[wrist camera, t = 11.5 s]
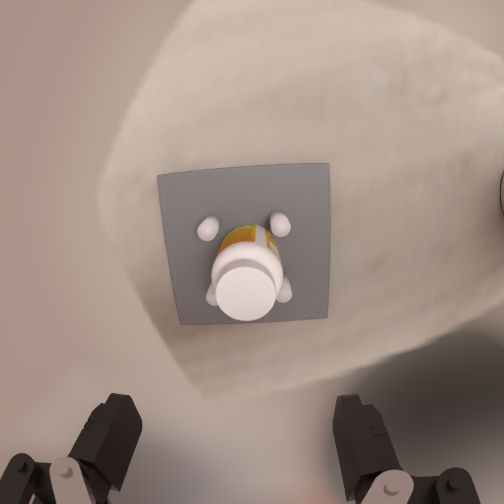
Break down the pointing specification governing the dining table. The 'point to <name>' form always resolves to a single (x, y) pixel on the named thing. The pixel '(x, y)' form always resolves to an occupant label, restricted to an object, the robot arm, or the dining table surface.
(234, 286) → the supplement bottle
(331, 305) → the dining table surface
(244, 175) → the pin holder
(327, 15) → the dining table surface
